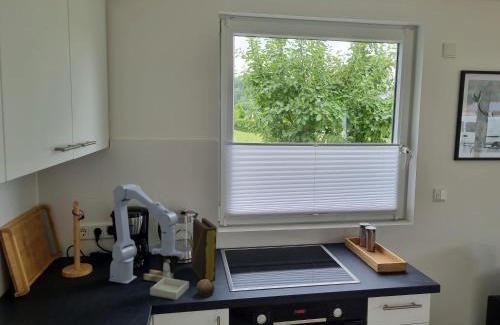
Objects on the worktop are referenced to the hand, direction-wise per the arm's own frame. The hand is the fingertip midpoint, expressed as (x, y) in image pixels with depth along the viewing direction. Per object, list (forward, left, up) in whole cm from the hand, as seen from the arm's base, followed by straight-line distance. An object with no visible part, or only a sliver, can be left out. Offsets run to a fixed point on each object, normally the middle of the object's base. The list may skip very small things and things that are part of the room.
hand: (167, 272), depth 160 cm
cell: (0, 0, -2) cm, 2 cm away
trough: (-10, +11, -9) cm, 17 cm away
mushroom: (+16, +4, -9) cm, 19 cm away
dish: (+1, +1, -9) cm, 9 cm away
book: (+6, +25, -9) cm, 27 cm away
